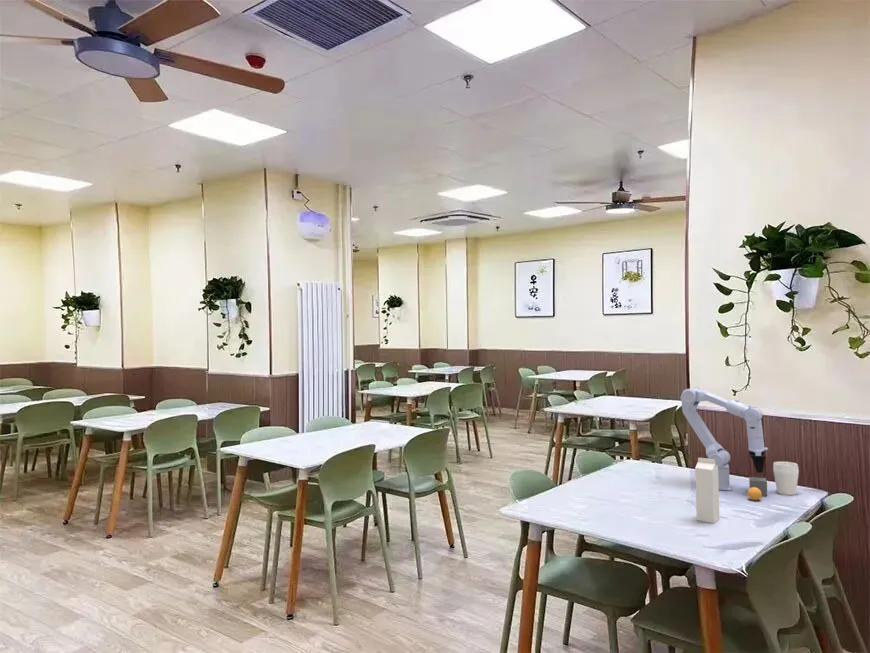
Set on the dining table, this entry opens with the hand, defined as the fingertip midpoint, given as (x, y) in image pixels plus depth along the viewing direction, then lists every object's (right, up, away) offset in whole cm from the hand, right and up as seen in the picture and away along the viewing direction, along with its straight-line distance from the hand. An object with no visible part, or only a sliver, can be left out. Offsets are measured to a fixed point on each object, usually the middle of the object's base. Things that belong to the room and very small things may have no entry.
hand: (758, 470), depth 247 cm
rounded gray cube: (0, -10, 0) cm, 10 cm away
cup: (+11, -10, 0) cm, 15 cm away
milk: (-35, -11, -31) cm, 47 cm away
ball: (-6, -7, -8) cm, 13 cm away
